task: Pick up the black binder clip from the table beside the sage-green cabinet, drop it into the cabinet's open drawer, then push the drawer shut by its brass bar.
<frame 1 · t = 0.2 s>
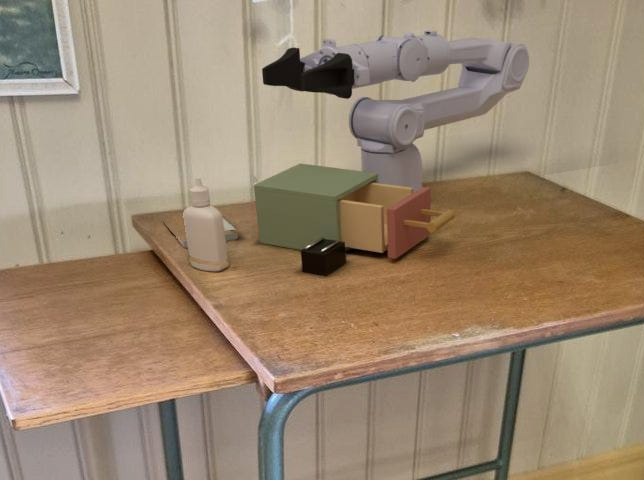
hand: (283, 79, 121), 22 cm above the table, tool horizontal, fingers open, 7 cm apart
hard drive: (199, 232, 137), on the table
eye dropper bottle: (209, 268, 125), on the table
drawer: (389, 219, 126), point 4 cm above the table, slide at 7.5 cm
clip: (324, 267, 123), on the table
cabinet: (320, 236, 133), on the table
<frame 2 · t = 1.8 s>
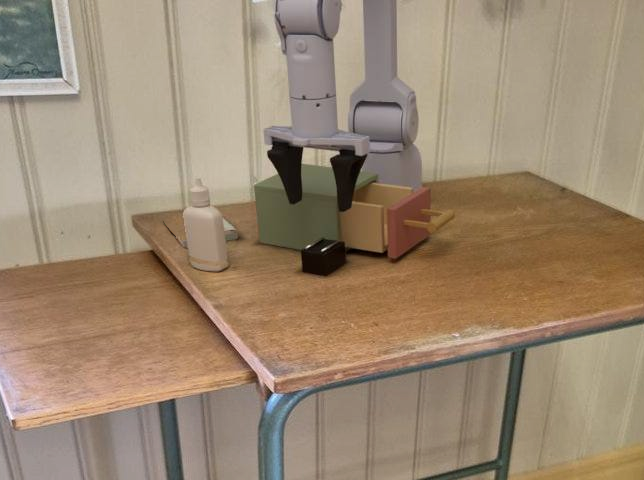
hand: (320, 205, 118), 8 cm above the table, tool pointing down, fingers open, 7 cm apart
nothing on the table moved.
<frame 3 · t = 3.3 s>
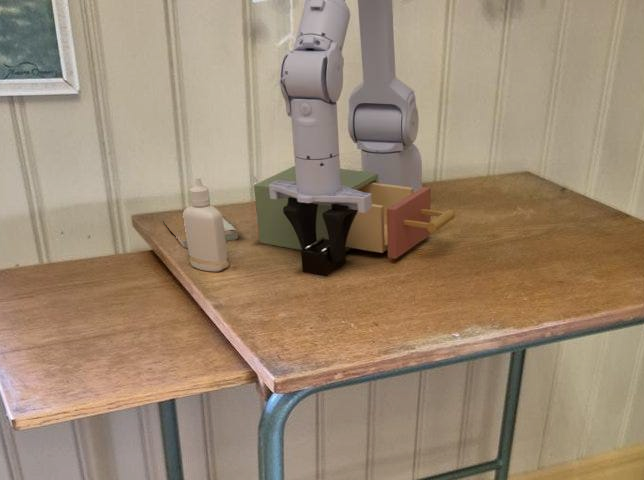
hand: (323, 257, 122), 1 cm above the table, tool pointing down, fingers closed on clip, 4 cm apart
clip: (324, 267, 123), on the table, touching gripper
everything else where it was.
when the fingers open (5 cm above the table, at t = 7.3 s): clip drops 2 cm, resting on drawer.
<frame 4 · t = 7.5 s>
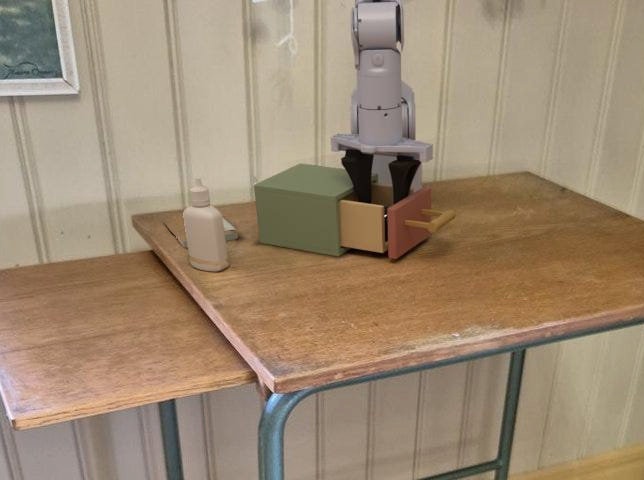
hand: (382, 208, 126), 5 cm above the table, tool pointing down, fingers open, 5 cm apart
drawer: (390, 219, 126), point 4 cm above the table, slide at 7.6 cm, touching clip, gripper
clip: (383, 234, 128), point 2 cm above the table, touching drawer
everything else where it was.
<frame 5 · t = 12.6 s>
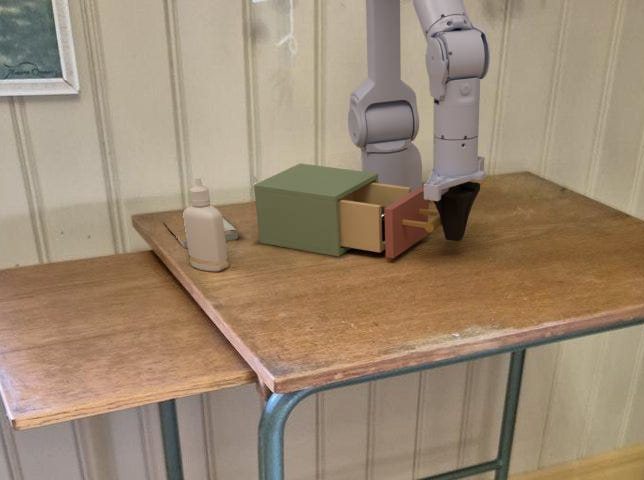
hand: (454, 239, 123), 3 cm above the table, tool pointing down, fingers closed, pressing on drawer
drawer: (387, 218, 126), point 4 cm above the table, slide at 7.1 cm, touching clip, gripper
everything else where it was.
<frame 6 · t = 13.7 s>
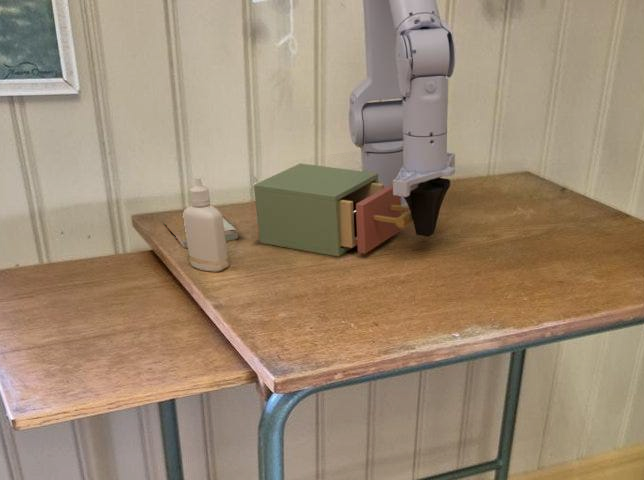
hand: (425, 234, 125), 3 cm above the table, tool pointing down, fingers closed, pressing on drawer
drawer: (360, 214, 128), point 4 cm above the table, slide at 2.8 cm, touching clip, gripper
clip: (354, 229, 130), point 2 cm above the table, touching drawer
everything else where it was.
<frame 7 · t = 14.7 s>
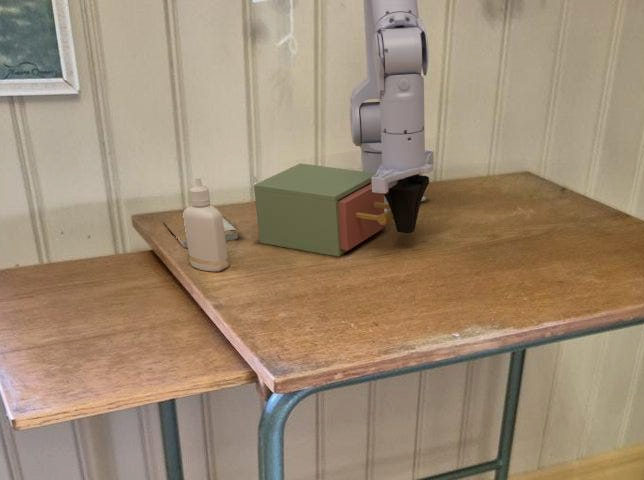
hand: (405, 231, 126), 3 cm above the table, tool pointing down, fingers closed, pressing on drawer
drawer: (343, 212, 129), point 4 cm above the table, slide at 0.0 cm, touching cabinet, clip, gripper
clip: (337, 227, 131), point 2 cm above the table, touching drawer
everything else where it was.
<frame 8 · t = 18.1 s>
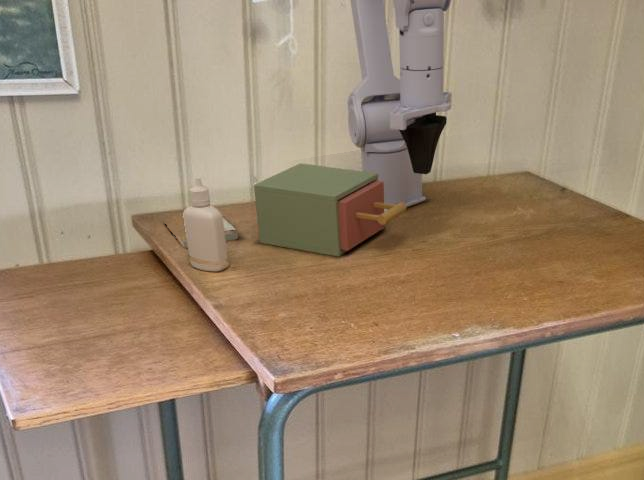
hand: (422, 172, 126), 9 cm above the table, tool pointing down, fingers closed
drawer: (343, 212, 129), point 4 cm above the table, slide at 0.0 cm, touching clip
everything else where it was.
at the end: clip inside the target area in the cabinet (0.3 cm from its centre), point 1.9 cm above the cabinet's base; drawer slide at 0.0 cm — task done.
